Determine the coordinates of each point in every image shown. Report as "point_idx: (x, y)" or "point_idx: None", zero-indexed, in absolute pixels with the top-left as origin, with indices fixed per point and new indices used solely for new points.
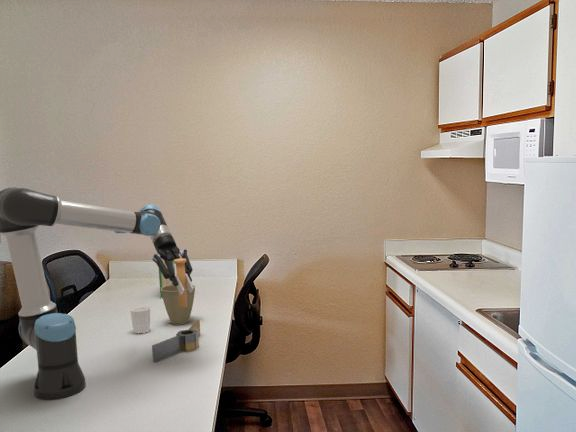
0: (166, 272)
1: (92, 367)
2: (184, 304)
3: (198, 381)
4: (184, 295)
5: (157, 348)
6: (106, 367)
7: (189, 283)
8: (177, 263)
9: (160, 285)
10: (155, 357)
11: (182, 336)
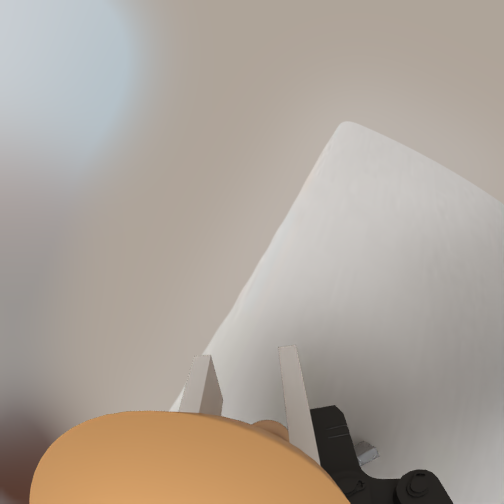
0: (437, 501)
1: (488, 469)
2: (266, 420)
3: (310, 255)
4: (257, 423)
5: (361, 451)
6: (467, 458)
7: (204, 390)
8: (313, 462)
9: None
10: (365, 443)
11: None
